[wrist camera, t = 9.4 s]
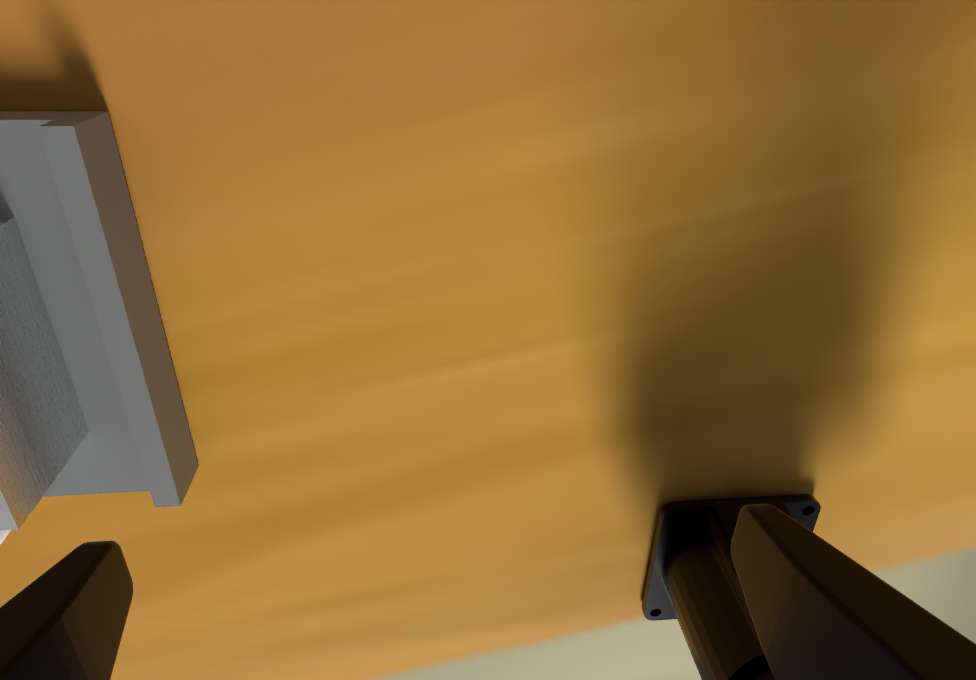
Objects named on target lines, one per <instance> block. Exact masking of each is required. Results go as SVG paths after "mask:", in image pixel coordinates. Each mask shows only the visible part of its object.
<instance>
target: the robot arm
mask: <svg viewBox="0 0 976 680" xmlns="http://www.w3.org/2000/svg"><path fill="white" fill-rule="evenodd" d="M820 508H821V506H820V504H819V503H818V501H817V500H816V499H815V498H814V496H812V495H808V494H803V495H785V496H767V497H749V498H732V499H714V500H696V501H678V502H670V503H667V504H665V505H664V506H663V507H662V508H661V510H660V512H659V517H658V523H657V528H656V533H655V539H654V544H653V549H652V554H651V560H650V565H649V570H648V576H647V581H646V586H645V592H644V597H643V602H642V610H643V613H644V616H645V617H646V618H647V619H648V620H668V619H678V622H679V624H680V627H681V629H682V632H683V634H684V637H685V639H686V641H687V644H688V647H689V649H690V651H691V654H692V656H693V659H694V661H695V664H696V666H697V669H698V671H699V674H700V676H701V679H702V680H976V644H974V643H973V642H972V641H971V640H969V639H968V638H966V637H965V636H963V635H962V634H960V633H959V632H957V631H956V630H954V629H953V628H952V627H950V626H948V625H947V624H946V623H944V622H943V621H941V620H940V619H938V618H937V617H935V616H934V615H933V614H931V613H930V612H928V611H927V610H925V609H924V608H922V607H921V606H919V605H918V604H916V603H915V602H914V601H912V600H911V599H909V598H908V597H906V596H905V595H903V594H902V593H900V592H899V591H897V590H896V589H895V588H893V587H892V586H890V585H889V584H887V583H886V582H884V581H883V580H881V579H880V578H879V577H877V576H876V575H874V574H873V573H871V572H870V571H868V570H867V569H865V568H864V567H863V566H861V565H860V564H858V563H857V562H855V561H854V560H852V559H851V558H849V557H848V556H846V555H845V554H844V553H842V552H841V551H839V550H838V549H836V548H835V547H833V546H832V545H830V544H829V543H828V542H826V541H825V540H823V539H822V538H820V537H819V536H817V535H816V534H814V533H813V530H814V527H815V524H816V521H817V518H818V515H819V512H820ZM673 514H675V515H673ZM671 515H673V516H671ZM132 596H133V582H132V578H131V576H130V573H129V570H128V567H127V564H126V561H125V559H124V556H123V553H122V550H121V548H120V546H119V545H118V544H117V543H116V542H114V541H98V542H87V543H84V544H82V545H80V546H78V547H77V548H76V549H74V550H73V551H72V552H71V553H69V554H68V555H67V556H66V557H64V558H63V559H62V560H60V561H59V562H58V563H57V564H55V565H54V566H53V567H52V568H50V569H49V570H48V571H46V572H45V573H44V574H43V575H41V576H40V577H39V578H38V579H36V580H35V581H34V582H32V583H31V584H30V585H29V586H27V587H26V588H25V589H24V590H22V591H21V592H20V593H18V594H17V595H16V596H15V597H13V598H12V599H11V600H10V601H8V602H7V603H6V604H4V605H3V606H2V607H1V608H0V680H110V678H111V675H112V671H113V667H114V664H115V660H116V656H117V653H118V649H119V645H120V641H121V638H122V634H123V630H124V627H125V623H126V619H127V615H128V612H129V608H130V604H131V601H132Z"/></svg>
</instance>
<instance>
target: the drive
mask: <svg viewBox="0 0 976 680" xmlns="http://www.w3.org/2000/svg"><path fill="white" fill-rule="evenodd" d="M88 433H89V429H88V426H87V423H86V420H85V418H84V415H83V412H82V409H81V406H80V403H79V400H78V398H77V395H76V392H75V389H74V386H73V383H72V380H71V377H70V375H69V372H68V369H67V366H66V363H65V360H64V357H63V355H62V352H61V349H60V346H59V343H58V340H57V337H56V334H55V332H54V329H53V326H52V323H51V320H50V317H49V314H48V312H47V309H46V306H45V303H44V300H43V297H42V294H41V292H40V289H39V286H38V283H37V280H36V277H35V274H34V271H33V269H32V266H31V263H30V260H29V257H28V254H27V251H26V249H25V246H24V243H23V240H22V237H21V234H20V231H19V228H18V226H17V223H16V220H15V217H0V531H1V530H19V528H20V527H21V525H22V524H23V523H24V521H25V520H26V519H27V517H28V516H29V514H30V513H31V512H32V510H33V509H34V508H35V506H36V505H37V503H38V502H39V501H40V499H41V498H42V496H43V495H44V494H45V492H46V491H47V490H48V488H49V487H50V485H51V484H52V483H53V481H54V480H55V478H56V477H57V476H58V474H59V473H60V472H61V470H62V469H63V467H64V466H65V465H66V463H67V462H68V461H69V459H70V458H71V456H72V455H73V454H74V452H75V451H76V449H77V448H78V447H79V445H80V444H81V443H82V441H83V440H84V438H85V437H86V436H87V434H88Z"/></svg>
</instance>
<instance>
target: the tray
mask: <svg viewBox="0 0 976 680" xmlns="http://www.w3.org/2000/svg"><path fill="white" fill-rule="evenodd" d="M0 217H15V220H16V223H17V226H18V228H19V231H20V234H21V237H22V240H23V243H24V246H25V249H26V251H27V254H28V257H29V260H30V263H31V266H32V269H33V271H34V274H35V277H36V280H37V283H38V286H39V289H40V292H41V294H42V297H43V300H44V303H45V306H46V309H47V312H48V314H49V317H50V320H51V323H52V326H53V329H54V332H55V334H56V337H57V340H58V343H59V346H60V349H61V352H62V355H63V357H64V360H65V363H66V366H67V369H68V372H69V375H70V377H71V380H72V383H73V386H74V389H75V392H76V395H77V398H78V400H79V403H80V406H81V409H82V412H83V415H84V418H85V420H86V423H87V426H88V429H89V433H88V434H87V436H86V437H85V438H84V440H83V441H82V443H81V444H80V445H79V447H78V448H77V449H76V451H75V452H74V454H73V455H72V456H71V458H70V459H69V461H68V462H67V463H66V465H65V466H64V467H63V469H62V470H61V472H60V473H59V474H58V476H57V477H56V478H55V480H54V481H53V483H52V484H51V485H50V487H49V488H48V490H47V491H46V492H45V494H44V495H43V496H62V495H82V494H102V493H122V492H141V491H150V492H151V495H152V498H153V502H154V505H155V507H167V506H181V504H182V502H183V500H184V497H185V495H186V493H187V491H188V488H189V486H190V484H191V482H192V479H193V477H194V475H195V473H196V471H197V468H198V462H197V458H196V454H195V450H194V446H193V442H192V438H191V434H190V430H189V427H188V423H187V419H186V415H185V411H184V407H183V403H182V399H181V395H180V391H179V387H178V383H177V379H176V375H175V371H174V368H173V364H172V360H171V356H170V352H169V348H168V344H167V340H166V336H165V332H164V328H163V324H162V320H161V316H160V313H159V309H158V305H157V301H156V297H155V293H154V289H153V285H152V281H151V277H150V273H149V269H148V265H147V261H146V257H145V254H144V250H143V246H142V242H141V238H140V234H139V230H138V226H137V222H136V218H135V214H134V210H133V206H132V202H131V199H130V195H129V191H128V187H127V183H126V179H125V175H124V171H123V167H122V163H121V159H120V155H119V151H118V147H117V144H116V140H115V136H114V132H113V128H112V124H111V120H110V116H109V112H108V111H0ZM43 496H42V497H43ZM10 531H11V530H1V531H0V544H1V543H2V542H3V540H4V539H5V538H6V536H7V535H8V533H9V532H10Z"/></svg>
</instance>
